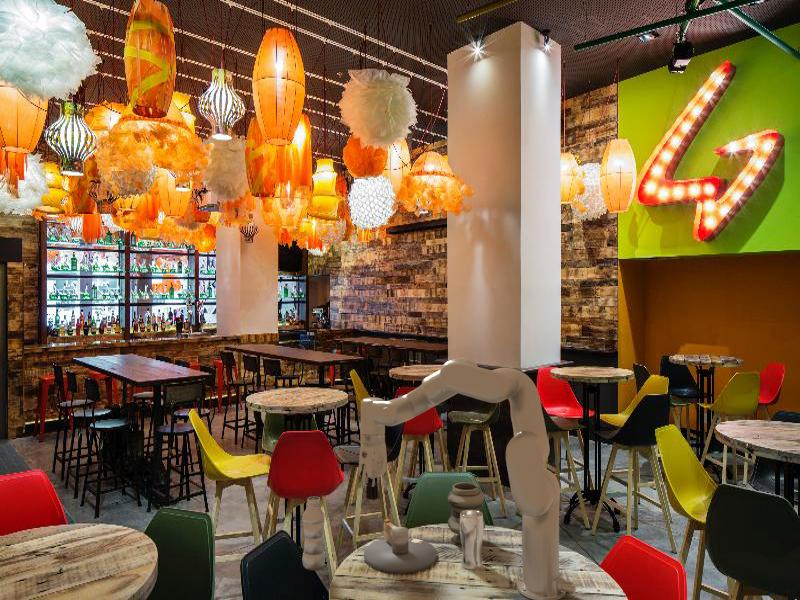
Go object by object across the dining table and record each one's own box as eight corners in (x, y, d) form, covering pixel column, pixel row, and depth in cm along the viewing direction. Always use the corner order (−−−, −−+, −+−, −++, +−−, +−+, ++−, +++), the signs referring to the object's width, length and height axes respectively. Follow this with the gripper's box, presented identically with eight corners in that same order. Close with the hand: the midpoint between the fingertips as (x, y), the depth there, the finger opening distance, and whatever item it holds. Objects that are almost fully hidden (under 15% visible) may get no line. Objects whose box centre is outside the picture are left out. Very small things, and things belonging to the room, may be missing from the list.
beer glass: (483, 571, 160) (482, 518, 161) (458, 569, 161) (458, 516, 162) (484, 561, 167) (484, 510, 167) (461, 559, 168) (460, 508, 169)
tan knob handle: (411, 552, 169) (411, 530, 170) (396, 555, 167) (396, 533, 167) (392, 537, 180) (392, 517, 181) (378, 540, 178) (378, 520, 178)
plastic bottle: (313, 575, 158) (313, 503, 159) (297, 569, 162) (297, 499, 163) (330, 567, 163) (329, 497, 164) (313, 561, 167) (313, 493, 168)
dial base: (449, 551, 174) (449, 546, 174) (412, 579, 155) (412, 573, 155) (390, 537, 186) (390, 532, 186) (349, 561, 167) (349, 555, 167)
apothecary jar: (440, 543, 180) (440, 486, 181) (459, 531, 190) (459, 478, 191) (474, 552, 173) (473, 493, 174) (491, 539, 183) (491, 484, 184)
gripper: (370, 444, 165) (370, 507, 165) (394, 435, 178) (394, 493, 178) (349, 441, 169) (348, 503, 168) (374, 432, 182) (373, 490, 181)
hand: (372, 498), depth 173 cm, fingers closed
